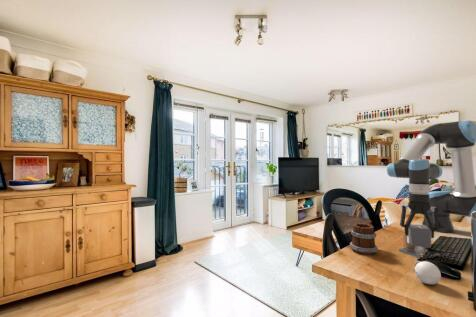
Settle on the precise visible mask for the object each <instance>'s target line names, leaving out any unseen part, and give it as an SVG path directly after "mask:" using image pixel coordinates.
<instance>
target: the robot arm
mask: <svg viewBox="0 0 476 317" xmlns="http://www.w3.org/2000/svg"><path fill="white" fill-rule="evenodd" d="M439 144H441V145H442V144H444V145H445V146H446V148H447V149H448V150H449V152H450V156H451V157H450V158H451V159H450V160H451V165H452V175H453V185H454V186H453V187H454V190H453V191H449V190H448V191H447V190H439V191H438V190H437V191H436V190H434V191H430V180H436V179H439V178H440V177H441V176H442V175H443V169H442V167H441V166H440V165H439V164H436V163H433V162H432V163H430V160H429V159H422V158H423V156H424V155H425V153H427V151H428V150H429V149H430V148H432V147H434V146H435V145H439ZM475 145H476V123H475V122H474V121H471V120H459V121H451V122H444V123H443V122H442V123H441V122H440V123H436V124H433V125H430V126H427V127H426V128H424V129H423V130H422V131H421V132H419V133H418V134H417V136H415V140H414V142H413V143H412V145H410V146H409V147H408V149H407V150H406V151H405V152H404V153H403V154H402V156H401V157H400V158H399V159H398V160H397V162H391V163H388V165H387V166H386V172H387V175H388V176H389V177H391V178H396V179H399V178H400V179H401V178H403V179H408V192H409V193H408V203H407V204H405V205H404V204H400V208H401V213H400V222H399V225H400V226H401V227H402V228H404V232H405V235H407V242H408V243H409V244H411V229H410V228H409V226H410V224H412V222H413V220H414V217H415V216H416V215H419V214H420V215H423V217H424V218H423V221H422V224H421V225H426V226H427V227H428V228H430V229H431V239H434V238H435V232H438V233H439V232H440V233H453V232H454V231H455V229H454V228H455V227H454V225H453V222H452V219H451V215H455V216H461V217H469V218H472V217H471V213H472V212H473V211H476V182H475V181H476V180H475V172H474V161H473V152H472V149H473V148H474V146H475ZM408 209H409V210H410V211H409V215H408V217H407V219H406V214H407V210H408Z"/></svg>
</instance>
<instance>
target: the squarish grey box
mask: <svg viewBox="0 0 476 317" xmlns="http://www.w3.org/2000/svg"><path fill="white" fill-rule="evenodd" d="M409 228H410V229H411V245H412V246H419V247H426V248H429V249H431V247H432V238H431V229H430V228H428V227H427V226H426V225H422V224H414V223H413V224H412V223H411V224H410V226H409Z"/></svg>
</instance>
